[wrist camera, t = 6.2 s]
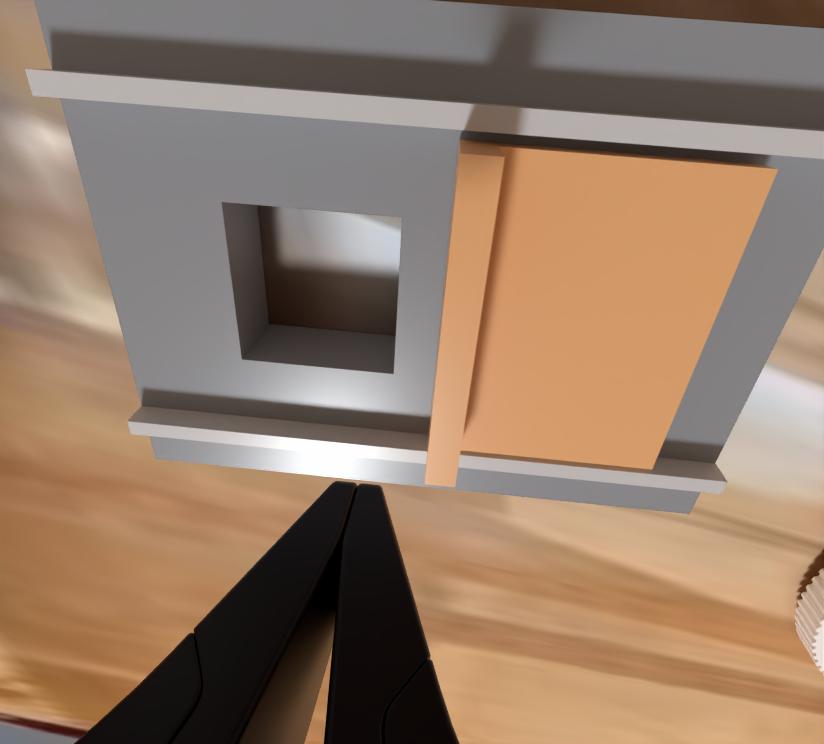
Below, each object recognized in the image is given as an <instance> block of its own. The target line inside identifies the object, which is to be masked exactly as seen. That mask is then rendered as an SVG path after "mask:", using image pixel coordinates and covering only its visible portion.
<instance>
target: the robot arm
mask: <svg viewBox="0 0 824 744" xmlns="http://www.w3.org/2000/svg"><path fill="white" fill-rule="evenodd" d="M332 646H333V648H332ZM331 650H332V659H331V670H330V681H329V692H328V704H327V715H326V726H325V737H324V744H459V741H458V739H457V736H456V733H455V731H454V728H453V726H452V723H451V720H450V717H449V714H448V711H447V707H446V704H445V701H444V698H443V695H442V692H441V689H440V686H439V682H438V679H437V675H436V672H435V669H434V665H433V662H432V660H430V652H429V649H428V645H427V642H426V638H425V635H424V631H423V628H422V625H421V621H420V618H419V614H418V611H417V607H416V604H415V600H414V597H413V593H412V590H411V586H410V583H409V579H408V576H407V572H406V569H405V566H404V562H403V559H402V555H401V552H400V548H399V545H398V541H397V538H396V534H395V531H394V527H393V524H392V520H391V517H390V514H389V510H388V507H387V503H386V500H385V496H384V493H383V489H382V487H381V486H380V485H372V484H363V483H362V484H359V486H357V484H356V483H353V482H343V481H335V482H333V483H332V484H331V485H330V486H329V487H328V488H327V489H326V491H325V492H324V493H323V494H322V495H321V496H320V497H319V498H318V499H317V500H316V501H315V502H314V503H313V504H312V505H311V506H310V507H309V508H308V509H307V511H306V512H305V513H304V514H303V515H302V516H301V517H300V518H299V519H298V520H297V521H296V522H295V523H294V524H293V525H292V526H291V527H290V528H289V529H288V530H287V532H286V533H285V534H284V535H283V536H282V537H281V538H280V539H279V540H278V541H277V542H276V543H275V544H274V545H273V546H272V547H271V548H270V549H269V550H268V551H267V553H266V554H265V555H264V556H263V557H262V558H261V559H260V560H259V561H258V562H257V563H256V564H255V565H254V566H253V567H252V568H251V569H250V570H249V571H248V572H247V574H246V575H245V576H244V577H243V578H242V579H241V580H240V581H239V582H238V583H237V584H236V585H235V586H234V587H233V588H232V589H231V590H230V591H229V592H228V593H227V595H226V596H225V597H224V598H223V599H222V600H221V601H220V602H219V603H218V604H217V605H216V606H215V607H214V608H213V609H212V610H211V611H210V612H209V613H208V614H207V616H206V617H205V618H204V619H203V620H202V621H201V622H200V623H199V624H198V625H197V626H196V627H195V628H194V633H189V634H188V635H187V636H186V637H185V638H184V639H183V640H182V641H181V643H180V644H179V645H178V646H177V647H176V648H175V649H174V650H173V651H172V652H171V653H170V654H169V655H168V656H167V657H166V658H165V659H164V660H163V661H162V662H161V663H160V664H159V665H158V666H157V667H156V668H155V669H154V670H153V671H152V672H151V673H150V674H149V675H148V676H147V677H146V678H145V679H144V680H143V681H142V682H141V683H140V684H139V685H138V686H137V687H136V688H135V689H134V690H133V691H132V692H131V693H130V694H128V695H127V696H126V697H125V698H124V699H123V700H122V701H121V702H120V703H119V704H118V705H116V706H115V707H114V708H113V709H112V710H111V711H110V712H109V713H108V714H107V715H106V716H104V717H103V718H102V719H101V720H100V721H99V722H98V723H97V724H96V725H95V726H93V727H92V728H91V729H90V730H89V731H88V732H87V733H86V734H84V735H83V736H82V737H81V738H80V739H79V740H78V741H76V743H74V744H304V743H305V739H306V736H307V732H308V729H309V725H310V722H311V718H312V715H313V712H314V708H315V705H316V701H317V698H318V694H319V691H320V687H321V684H322V681H323V677H324V674H325V670H326V667H327V663H328V660H329V656H330V653H331Z"/></svg>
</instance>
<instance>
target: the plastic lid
mask: <svg viewBox="0 0 824 744" xmlns="http://www.w3.org/2000/svg"><path fill="white" fill-rule="evenodd" d="M819 573H820V574H819V576H815V577H813V578H812V581H813V583H812V584H808V585H807V586H806V589H807V591H806V592H803V593H802V594H801V596H802V598H803V599H801V600H799V601H798V604H799V606H800V607H797V608H796V612H797V613H798V614H796V615H795V619H796V620H797V621H796V622H795V625H796V627H797V628H796V631H797V632H798V634H799V635H798V636H799V638H800V639H801V641H802V643H803V644H804V646H805V647H806V649H807V651H808V652H809V654H810V656H811V657H812V659H813V661H814V662H815V664H816V665H817V667H818V669H819V670H820V671H821V672H822V673H823V675H824V568H822V569H821V570H820V571H819Z"/></svg>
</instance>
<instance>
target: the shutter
mask: <svg viewBox="0 0 824 744" xmlns="http://www.w3.org/2000/svg"><path fill="white" fill-rule="evenodd" d="M777 171H778V169H776V168H773V167H769V166H766V165H762V164H759V163H749V162H737V161H724V160H712V159H699V158H687V157H675V156H662V155H650V154H637V153H625V152H613V151H600V150H588V149H575V148H563V147H551V146H538V145H526V144H513V143H501V142H489V141H476V140H464V139H459V146H458V155H457V165H456V175H455V184H454V194H453V203H452V213H451V222H450V232H449V242H448V251H447V261H446V270H445V280H444V289H443V299H442V309H441V318H440V328H439V337H438V347H437V356H436V366H435V375H434V385H433V395H432V404H431V414H430V423H429V434H428V447H427V460H426V473H425V484H427V485H437V486H446V487H455V485H456V478H457V472H458V465H459V458H460V452H461V450H462V451H472V452H482V453H492V454H502V455H512V456H522V457H532V458H542V459H552V460H562V461H572V462H582V463H591V464H601V465H611V466H621V467H631V468H641V469H651V470H652V469H653V466H654V464H655V461H656V459H657V457H658V454H659V452H660V450H661V447H662V445H663V442H664V440H665V438H666V435H667V433H668V431H669V428H670V426H671V423H672V421H673V419H674V416H675V414H676V412H677V409H678V407H679V404H680V402H681V400H682V397H683V395H684V393H685V390H686V388H687V385H688V383H689V381H690V378H691V376H692V374H693V371H694V369H695V366H696V364H697V362H698V359H699V357H700V355H701V352H702V350H703V347H704V345H705V343H706V340H707V338H708V335H709V333H710V331H711V328H712V326H713V324H714V321H715V319H716V316H717V314H718V312H719V309H720V307H721V305H722V302H723V300H724V297H725V295H726V293H727V290H728V288H729V286H730V283H731V281H732V278H733V276H734V274H735V271H736V269H737V267H738V264H739V262H740V259H741V257H742V255H743V252H744V250H745V248H746V245H747V243H748V240H749V238H750V236H751V233H752V231H753V229H754V226H755V224H756V221H757V219H758V217H759V214H760V212H761V210H762V207H763V205H764V202H765V200H766V198H767V195H768V193H769V190H770V188H771V186H772V183H773V181H774V179H775V176H776V174H777Z"/></svg>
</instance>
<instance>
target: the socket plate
mask: <svg viewBox="0 0 824 744" xmlns="http://www.w3.org/2000/svg"><path fill="white" fill-rule="evenodd" d="M34 2H35V5H36V9H37V13H38V17H39V20H40V24H41V28H42V32H43V36H44V39H45V43H46V47H47V51H48V54H49V58H50V62H51V66H52V69H25V70H26V74H27V77H28V81H29V84H30V88H31V91H32V95H33V96H41V97H54V98H60V100H61V103H62V107H63V111H64V115H65V118H66V122H67V126H68V130H69V134H70V137H71V141H72V145H73V149H74V152H75V156H76V160H77V164H78V167H79V171H80V175H81V179H82V183H83V186H84V190H85V194H86V198H87V201H88V205H89V209H90V213H91V216H92V220H93V224H94V228H95V232H96V235H97V239H98V243H99V247H100V250H101V254H102V258H103V262H104V265H105V269H106V273H107V277H108V281H109V284H110V288H111V292H112V296H113V299H114V303H115V307H116V311H117V314H118V318H119V322H120V326H121V330H122V333H123V337H124V341H125V345H126V348H127V352H128V356H129V360H130V364H131V367H132V371H133V375H134V379H135V382H136V386H137V390H138V394H139V397H140V401H141V405H142V406H141V407H140V408H139V409H138V410H137V412H136V413H135V414H134V415H133V416H132V417H131V418H130V419H129V420H128V421H127V423H128V426H129V429H130V433H131V434H135V435H145V436H150V439H151V443H152V446H153V450H154V454H155V458H156V459H162V460H171V461H181V462H191V463H200V464H210V465H220V466H229V467H239V468H249V469H258V470H268V471H278V472H288V473H297V474H307V475H317V476H326V477H336V478H346V479H355V480H365V481H375V482H384V483H394V484H404V485H413V486H423V487H433V488H442V489H452V490H462V491H471V492H481V493H491V494H501V495H510V496H520V497H530V498H539V499H549V500H559V501H568V502H578V503H588V504H597V505H607V506H617V507H626V508H636V509H646V510H655V511H665V512H675V513H685V514H690V512H691V510H692V508H693V506H694V504H695V502H696V500H697V498H698V496H699V494H700V492H705V493H715V494H721V493H722V491H723V490H724V488H725V486H726V484H727V480H726V479H725V477H724V476H723V474H722V473H721V471H720V470H719V468H718V467H717V465H716V464H715V462H716V460H717V458H718V456H719V454H720V452H721V450H722V449H723V447H724V445H725V443H726V441H727V439H728V437H729V435H730V433H731V431H732V429H733V427H734V425H735V423H736V421H737V419H738V417H739V415H740V413H741V411H742V409H743V407H744V405H745V403H746V401H747V399H748V397H749V395H750V393H751V391H752V389H753V387H754V385H755V383H756V381H757V379H758V377H759V375H760V373H761V371H762V369H763V367H764V365H765V363H766V361H767V359H768V357H769V355H770V353H771V351H772V349H773V347H774V345H775V343H776V341H777V339H778V337H779V335H780V333H781V331H782V329H783V327H784V325H785V323H786V321H787V319H788V317H789V316H790V314H791V312H792V310H793V308H794V306H795V304H796V302H797V300H798V298H799V296H800V294H801V292H802V290H803V288H804V286H805V284H806V282H807V280H808V278H809V276H810V274H811V272H812V270H813V268H814V266H815V264H816V262H817V260H818V258H819V256H820V254H821V252H822V250H823V248H824V28H811V27H797V26H783V25H769V24H755V23H741V22H727V21H713V20H699V19H685V18H671V17H657V16H643V15H629V14H615V13H602V12H588V11H574V10H560V9H546V8H532V7H518V6H504V5H490V4H476V3H462V2H448V1H434V0H34ZM459 139H464V140H476V141H489V142H501V143H513V144H526V145H538V146H551V147H563V148H575V149H588V150H600V151H613V152H625V153H637V154H650V155H662V156H675V157H687V158H699V159H712V160H724V161H737V162H749V163H759V164H762V165H766V166H769V167H773V168H776V169H778V171H777V174H776V176H775V179H774V181H773V183H772V186H771V188H770V190H769V193H768V195H767V198H766V200H765V202H764V205H763V207H762V210H761V212H760V214H759V217H758V219H757V221H756V224H755V226H754V229H753V231H752V233H751V236H750V238H749V240H748V243H747V245H746V248H745V250H744V252H743V255H742V257H741V259H740V262H739V264H738V267H737V269H736V271H735V274H734V276H733V278H732V281H731V283H730V286H729V288H728V290H727V293H726V295H725V297H724V300H723V302H722V305H721V307H720V309H719V312H718V314H717V316H716V319H715V321H714V324H713V326H712V328H711V331H710V333H709V335H708V338H707V340H706V343H705V345H704V347H703V350H702V352H701V355H700V357H699V359H698V362H697V364H696V366H695V369H694V371H693V374H692V376H691V378H690V381H689V383H688V385H687V388H686V390H685V393H684V395H683V397H682V400H681V402H680V404H679V407H678V409H677V412H676V414H675V416H674V419H673V421H672V423H671V426H670V428H669V431H668V433H667V435H666V438H665V440H664V442H663V445H662V447H661V450H660V452H659V454H658V457H657V459H656V461H655V464H654V466H653V469H652V470H651V469H641V468H631V467H621V466H611V465H601V464H591V463H582V462H572V461H562V460H552V459H542V458H532V457H522V456H512V455H502V454H492V453H482V452H472V451H462V450H461V452H460V458H459V465H458V472H457V478H456V485H455V487H446V486H437V485H427V484H425V473H426V460H427V447H428V434H429V423H430V414H431V404H432V395H433V385H434V375H435V366H436V356H437V347H438V337H439V328H440V318H441V309H442V299H443V289H444V280H445V270H446V261H447V251H448V242H449V232H450V222H451V213H452V203H453V194H454V184H455V175H456V165H457V155H458V146H459ZM258 205H263V206H275V207H286V208H298V209H310V210H321V211H333V212H344V213H356V214H368V215H379V216H391V217H402V230H401V248H400V267H399V285H398V304H397V322H396V336H394V335H383V334H372V333H362V332H351V331H340V330H329V329H319V328H308V327H297V326H287V325H276V324H269V320H268V309H267V299H266V288H265V277H264V266H263V256H262V245H261V234H260V224H259V213H258Z"/></svg>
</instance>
